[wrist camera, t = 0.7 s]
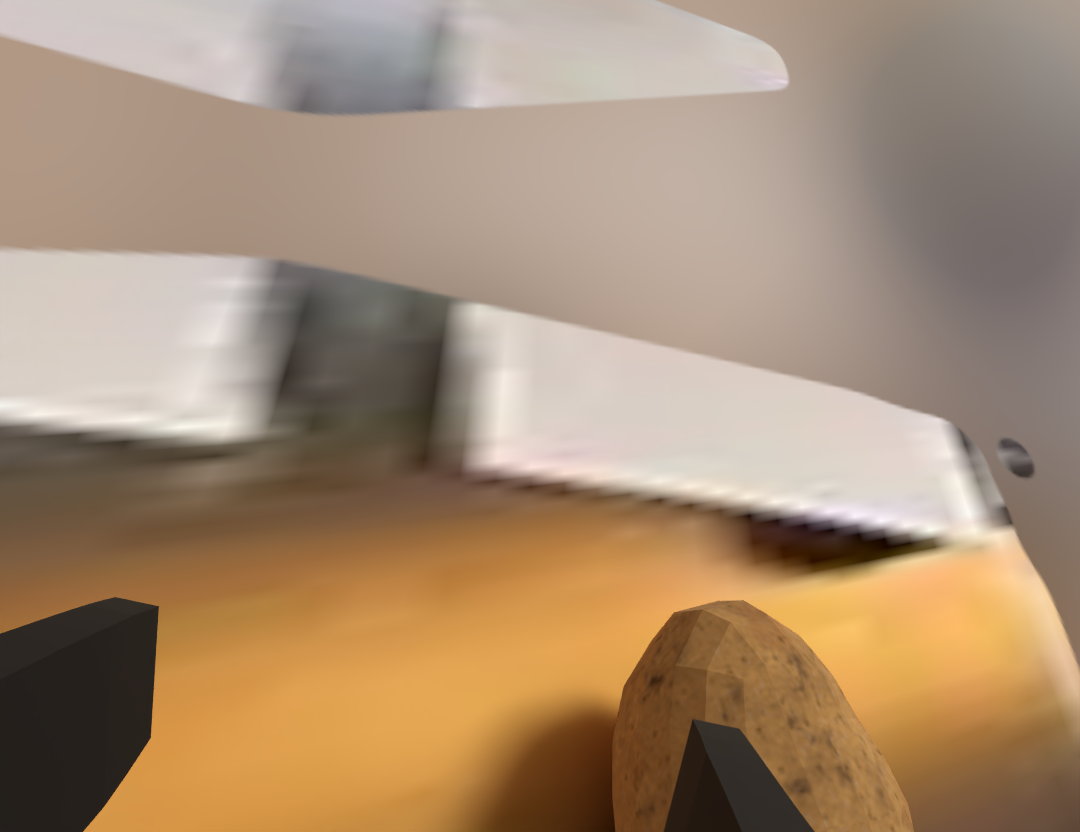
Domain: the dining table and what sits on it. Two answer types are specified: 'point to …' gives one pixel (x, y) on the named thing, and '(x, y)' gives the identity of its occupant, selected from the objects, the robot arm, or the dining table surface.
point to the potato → (748, 722)
